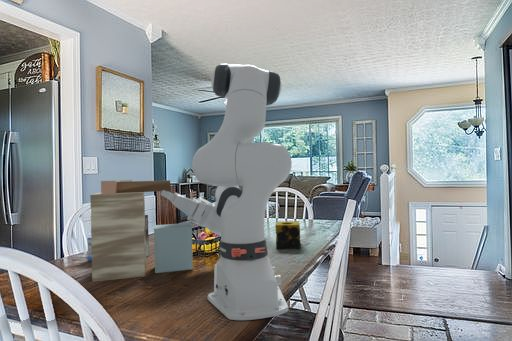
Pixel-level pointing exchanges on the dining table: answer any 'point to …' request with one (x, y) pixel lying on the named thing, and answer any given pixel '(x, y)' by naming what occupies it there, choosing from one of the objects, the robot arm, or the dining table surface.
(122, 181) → the cream block
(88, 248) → the medicine box
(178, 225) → the step
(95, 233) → the grey wood block
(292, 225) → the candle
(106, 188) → the terracotta block
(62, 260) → the dining table surface
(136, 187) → the rail
